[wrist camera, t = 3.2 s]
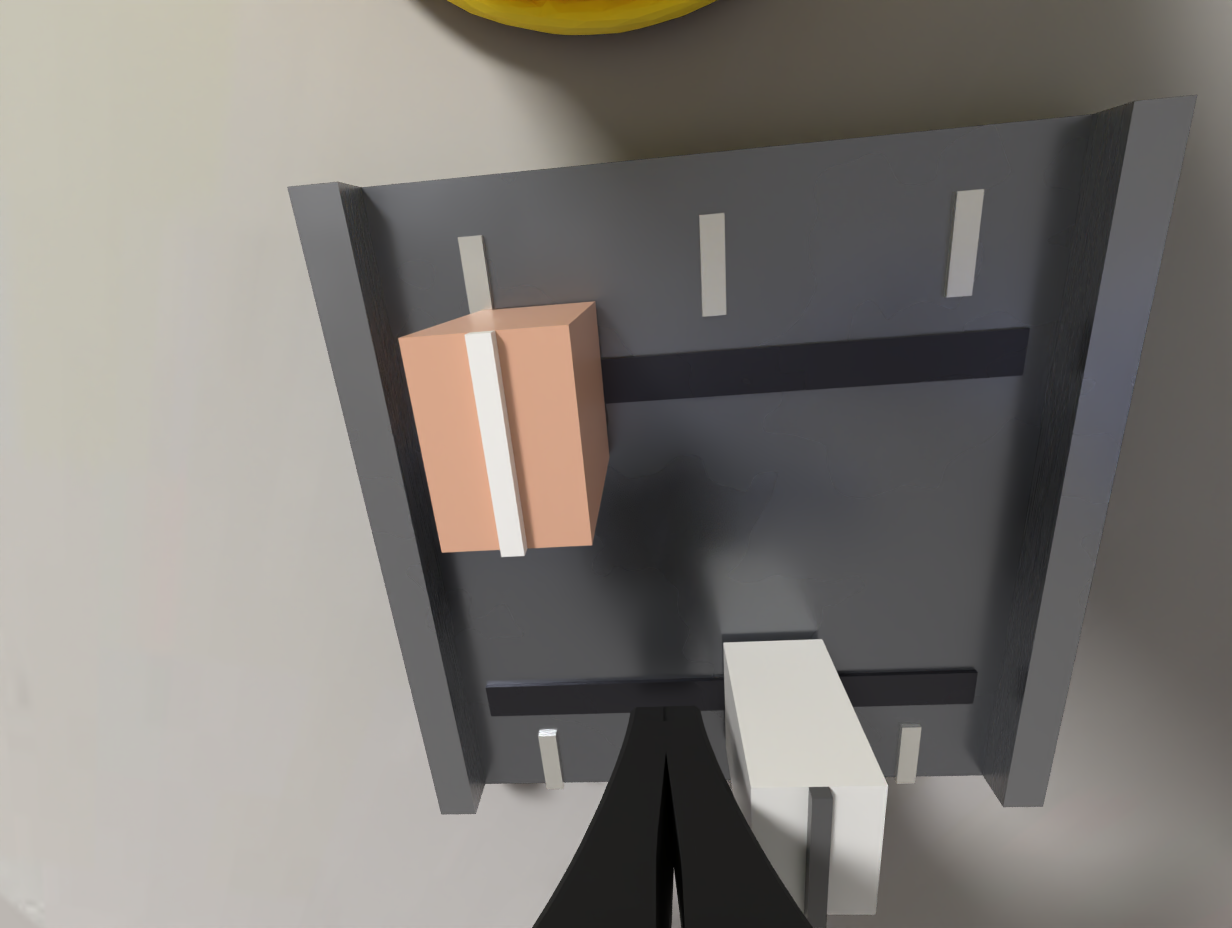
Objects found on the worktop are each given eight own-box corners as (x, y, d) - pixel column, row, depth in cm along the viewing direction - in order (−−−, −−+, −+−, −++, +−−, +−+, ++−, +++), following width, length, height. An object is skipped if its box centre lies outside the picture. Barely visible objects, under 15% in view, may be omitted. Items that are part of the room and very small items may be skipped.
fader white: (822, 638, 12) (893, 797, 8) (817, 745, 13) (879, 928, 9) (723, 642, 12) (753, 799, 9) (725, 747, 13) (753, 927, 10)
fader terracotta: (594, 301, 10) (565, 326, 6) (609, 457, 11) (590, 552, 7) (479, 310, 10) (390, 340, 7) (503, 463, 11) (436, 559, 8)
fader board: (1092, 125, 10) (1196, 94, 8) (990, 736, 14) (1042, 810, 12) (350, 198, 11) (287, 187, 9) (468, 748, 15) (442, 817, 13)
